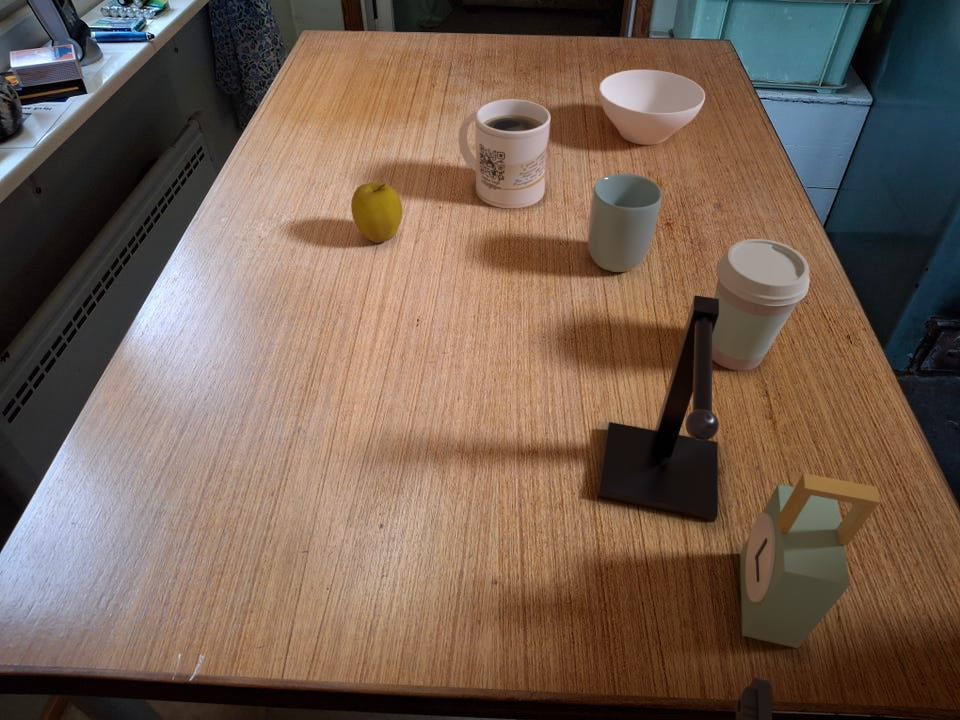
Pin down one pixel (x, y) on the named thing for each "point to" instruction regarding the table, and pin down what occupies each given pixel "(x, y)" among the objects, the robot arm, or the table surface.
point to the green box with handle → (799, 557)
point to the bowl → (649, 103)
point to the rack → (672, 436)
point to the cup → (622, 220)
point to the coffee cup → (755, 299)
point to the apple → (376, 211)
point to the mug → (508, 152)
